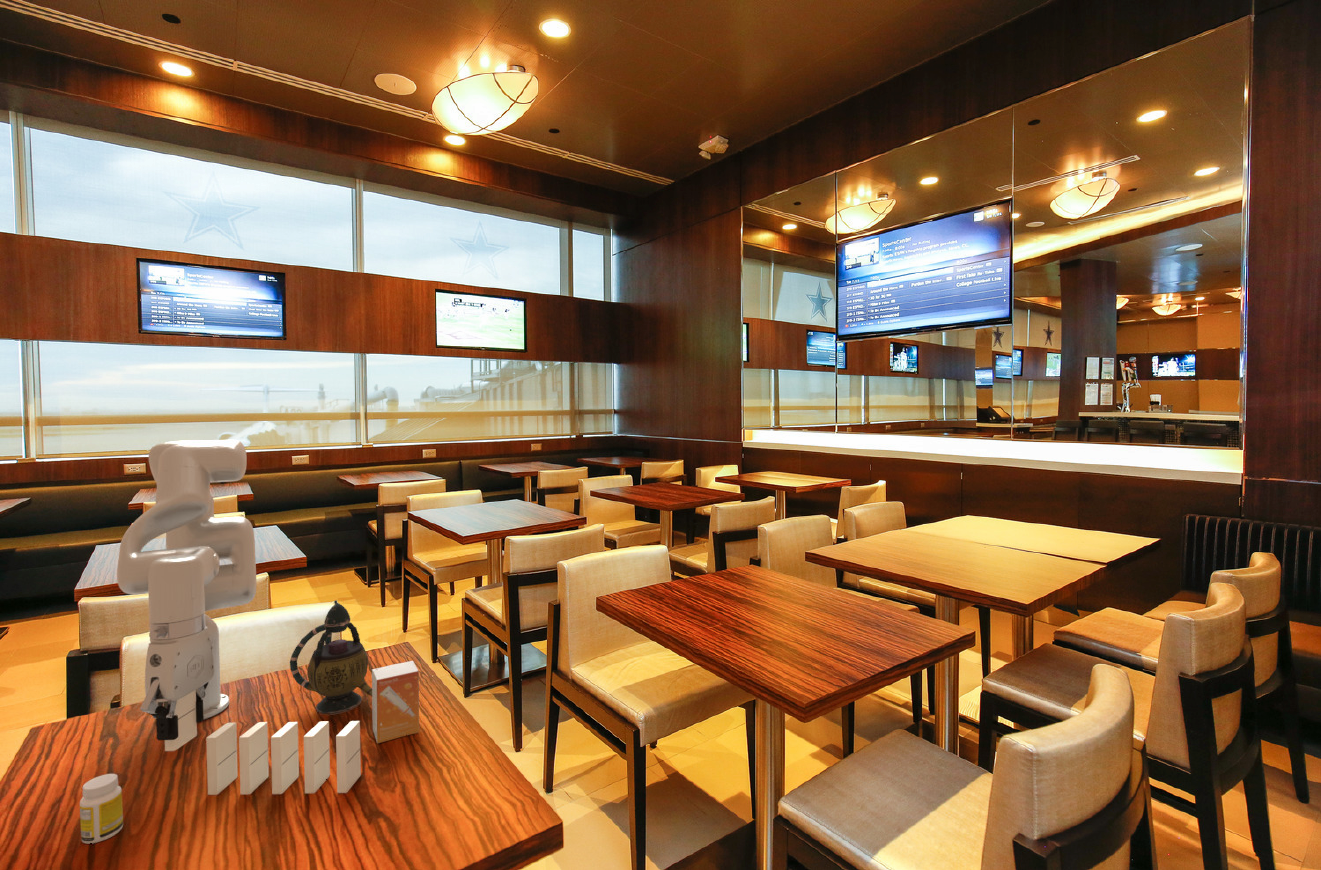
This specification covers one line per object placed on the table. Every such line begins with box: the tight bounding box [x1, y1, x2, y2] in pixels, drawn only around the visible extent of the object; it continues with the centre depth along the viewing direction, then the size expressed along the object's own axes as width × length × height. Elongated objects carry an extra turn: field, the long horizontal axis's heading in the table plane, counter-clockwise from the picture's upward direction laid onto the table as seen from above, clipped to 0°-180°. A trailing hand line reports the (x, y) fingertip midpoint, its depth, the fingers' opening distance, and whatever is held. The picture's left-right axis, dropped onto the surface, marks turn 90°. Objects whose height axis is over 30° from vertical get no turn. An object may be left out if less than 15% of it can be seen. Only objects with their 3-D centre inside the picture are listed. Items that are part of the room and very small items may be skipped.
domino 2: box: [205, 722, 239, 796], centre depth 104 cm, size 2×5×10 cm, turn 1°
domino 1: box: [163, 690, 198, 752], centre depth 103 cm, size 2×5×10 cm, turn 1°
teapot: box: [289, 600, 372, 716], centre depth 132 cm, size 12×25×23 cm, turn 70°
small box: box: [371, 660, 420, 744], centre depth 122 cm, size 8×6×13 cm
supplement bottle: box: [79, 773, 124, 845], centre depth 92 cm, size 5×5×8 cm
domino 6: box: [335, 720, 362, 794], centre depth 104 cm, size 2×5×10 cm, turn 1°
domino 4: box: [270, 721, 300, 795], centre depth 104 cm, size 2×5×10 cm, turn 1°
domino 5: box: [303, 720, 331, 794], centre depth 104 cm, size 2×5×10 cm, turn 1°
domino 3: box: [238, 721, 270, 795], centre depth 104 cm, size 2×5×10 cm, turn 1°
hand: (180, 729), depth 103 cm, fingers closed on domino 1, 4 cm apart
